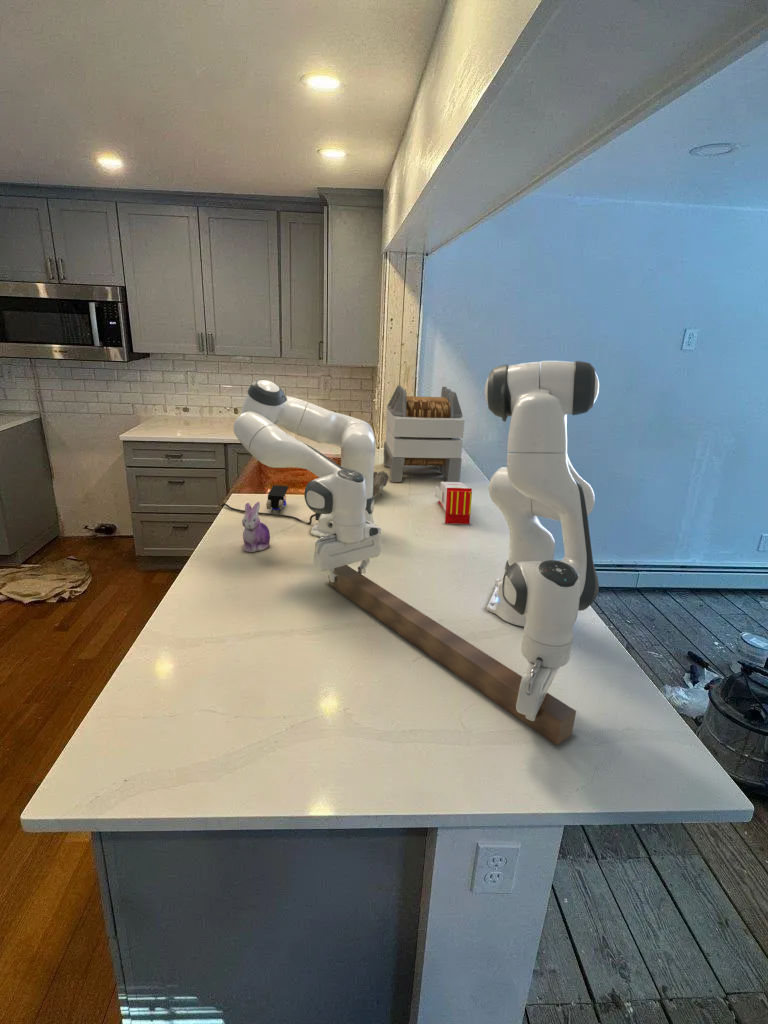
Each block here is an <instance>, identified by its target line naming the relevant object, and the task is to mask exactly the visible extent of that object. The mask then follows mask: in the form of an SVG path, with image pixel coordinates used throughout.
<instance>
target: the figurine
mask: <svg viewBox="0 0 768 1024" xmlns="http://www.w3.org/2000/svg"><path fill="white" fill-rule="evenodd" d="M260 508H261V502H259V501H257V502H255V504H254V505H253V506H251V504H250V503H249V502H246V503H245V505H244V510H245V512H244V515H243V518H242V521H241V524H242V527H243V528H244V529H243V531H242V539H243V543H244V545H243V546H244V547H243V550H244V552H248V553H249V552H250V553H255V552H258V551H259V552H260V551H263V550H266V549H267V548H269V547H270V544H271V543H270V541H271V532H270V529H269V527H268V525H266V524H265V523H263V522H261V519H260V516H259V514H258V512H259V511H260Z"/></svg>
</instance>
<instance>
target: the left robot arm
mask: <svg viewBox="0 0 768 1024" xmlns="http://www.w3.org/2000/svg"><path fill="white" fill-rule="evenodd" d="M282 429H284V430H285V431H287V432H290V433H292V434H294V435H297V436H300V437H302V438H305V439H308V440H310V441H313V442H316V443H318V444H326V445H330V446H335V447H339V448H340V465H339V464H338V463H336V462H335V461H334V460H332V459H331V458H329V457H328V456H326V455H324V454H323V453H322V452H320V451H319V450H317V449H316V448H315V447H312V446H311V445H309V444H308V443H305V442H303V441H301V440H299V439H297V438H295V437H293V436H292V435H290V434H289V433H287V432H285V431H284V430H282ZM233 433H234V435H235V437H236V438H237V440H238V442H239V443H240V445H242V446H243V448H245V450H246V451H247V452H248V453H249V454H250V455H251V456H252V457H253V458H255V460H257V462H259V463H261V464H263V465H265V466H267V467H269V468H273V469H280V468H281V469H282V468H283V469H286V468H294V469H295V468H297V469H303V470H307V471H308V472H310V473H312V474H314V475H315V476H316V477H318V478H314V479H312V480H310V481H308V482H307V483H306V485H305V487H304V494H303V496H304V497H303V498H304V501H305V504H306V506H307V508H308V509H309V510H311V511H312V512H313V513H314V514H312V515H310V517H309V522H305V521H303V520H301V519H300V518H298V517H296V516H293V515H286V514H281V513H271V512H258V515H262V516H263V515H264V516H272V517H273V516H274V517H280V518H281V517H282V518H288V519H293V520H295V521H298V522H301V523H302V524H305V525H311V524H312V522H313V518H315V519H314V520H315V521H317V523H315V524H314V525H313V526H312V528H311V530H310V533H311V536H315V537H319V538H318V539H317V540H316V541H315V544H314V555H313V566H314V567H315V568H316V569H317V570H319V571H320V572H325V571H326V572H327V574H328V581H329V580H330V581H331V582H336V581H337V575H335V574H333V572H332V571H334V568H337V567H341V566H344V565H348V566H349V565H351V564H355V563H359V562H361V563H360V565H359V566H357V572H359V573H360V574H362V575H363V574H366V570H367V567H368V565H369V563H370V560H371V559H374V558H377V557H380V555H381V553H382V543H383V542H382V536H381V535H380V534H381V533H382V528H381V527H380V526H379V525H377V524H376V523H374V513H373V512H374V509H375V497H374V496H373V474H374V472H375V460H376V459H375V458H376V437H375V433H374V430H373V427H372V426H371V424H370V423H368V422H367V421H365V420H362V419H359V418H356V417H353V416H350V415H347V414H344V413H341V412H340V413H339V412H335V411H333V410H330V409H326V408H324V407H323V406H319V405H316V404H314V403H312V402H308V401H306V400H303V399H300V398H296V397H293V396H289V395H286V394H285V393H284V391H283V389H282V387H280V386H279V385H278V384H277V383H275V382H274V381H271V380H268V379H263V378H261V379H256V380H254V381H252V382H251V383H250V386H249V387H248V389H247V394H246V396H245V398H244V401H243V404H242V407H241V413H240V415H238V417H236V419H235V420H234V422H233ZM224 506H225V507H227V508H228V509H230V510H231V511H236V512H240V513H245V509H239V508H235V507H232V506H230V505H229V504H228V503H222V504H221V505H220V507H221V508H223V507H224Z"/></svg>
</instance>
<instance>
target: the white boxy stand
mask: <svg viewBox="0 0 768 1024" xmlns="http://www.w3.org/2000/svg"><path fill="white" fill-rule="evenodd" d="M440 393H441V394H440V396H415V395H414V396H413V395H412V396H411V395H407V394H408V393H407V390H406V389H404V388H403V387H402V385H399V384H398V385H397V386H396V388H395V390H394V392H393V394H392V395H391V398H390V400H389V402H388V404H387V405H386V413H385V414H386V415H385V423H386V428H385V438H384V442H383V466H384V467H388V468H389V475H388V479H389V480H390V482H391V483H402V482H403V475H404V469H405V466H406V467H407V466H411V467H412V466H413V467H415V466H416V467H417V466H418V467H436V468H437V470H438V469H439V473H440V474H441V475H443V478H444V479H445V482H461V472H462V461H463V460H462V453H463V442H464V441H463V440H462V439H463V438H464V431H465V430H464V429H465V419H464V418H463V411H462V408H461V405H460V402H459V398H458V395H457V392H455V391H453V390H452V389H451V388H447V386H442V387H441V392H440Z"/></svg>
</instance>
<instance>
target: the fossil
mask: <svg viewBox="0 0 768 1024" xmlns="http://www.w3.org/2000/svg"><path fill="white" fill-rule="evenodd" d="M388 482H389V475H388V473H387V472H385V471H384V470H383V471H379V472H377V471H374V474H373V496H374V498H376V496H377V495H378V494H379V496H380V497H382V496H383V495H382V493H381V491H382V490H383V489H384V487H387V484H388Z"/></svg>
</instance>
